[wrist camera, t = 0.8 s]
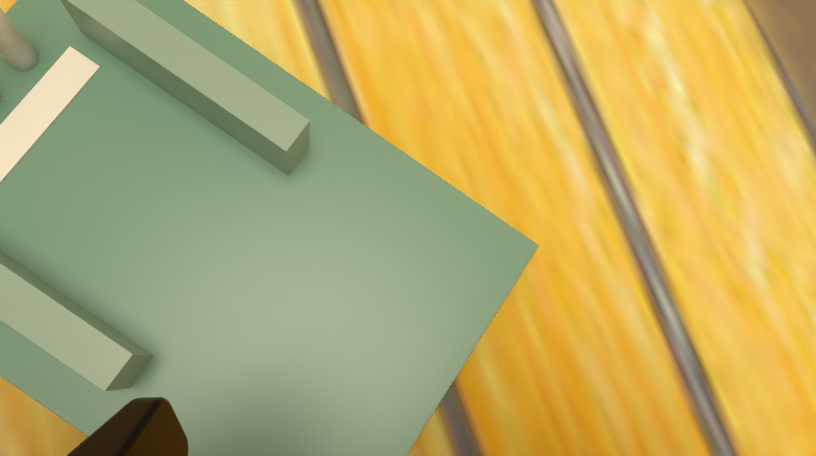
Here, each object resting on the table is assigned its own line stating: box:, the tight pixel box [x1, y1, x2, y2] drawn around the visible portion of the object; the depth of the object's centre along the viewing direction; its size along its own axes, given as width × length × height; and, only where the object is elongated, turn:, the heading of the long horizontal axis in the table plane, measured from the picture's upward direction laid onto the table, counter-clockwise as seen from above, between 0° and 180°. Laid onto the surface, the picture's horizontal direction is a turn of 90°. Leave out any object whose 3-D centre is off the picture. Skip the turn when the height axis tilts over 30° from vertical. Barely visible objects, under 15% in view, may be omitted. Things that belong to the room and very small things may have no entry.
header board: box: [0, 0, 539, 456], centre depth 18 cm, size 16×11×5 cm
